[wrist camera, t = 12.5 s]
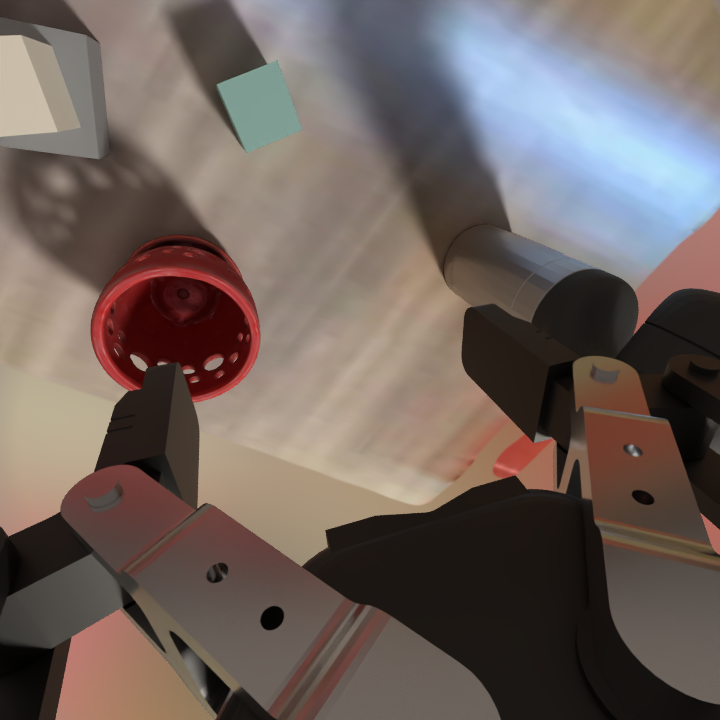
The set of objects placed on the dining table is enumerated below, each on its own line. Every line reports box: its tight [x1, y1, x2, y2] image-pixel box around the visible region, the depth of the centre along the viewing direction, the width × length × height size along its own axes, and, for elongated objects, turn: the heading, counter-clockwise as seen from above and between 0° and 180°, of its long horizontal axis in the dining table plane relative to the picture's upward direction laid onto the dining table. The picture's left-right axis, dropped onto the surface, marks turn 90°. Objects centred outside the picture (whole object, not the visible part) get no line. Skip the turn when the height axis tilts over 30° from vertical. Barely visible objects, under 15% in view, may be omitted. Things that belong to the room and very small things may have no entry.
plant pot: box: [91, 235, 260, 403], centre depth 41 cm, size 13×13×12 cm
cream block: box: [0, 35, 81, 137], centre depth 28 cm, size 5×5×6 cm
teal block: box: [216, 60, 302, 153], centre depth 37 cm, size 5×5×6 cm
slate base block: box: [0, 17, 110, 159], centre depth 33 cm, size 8×8×5 cm
